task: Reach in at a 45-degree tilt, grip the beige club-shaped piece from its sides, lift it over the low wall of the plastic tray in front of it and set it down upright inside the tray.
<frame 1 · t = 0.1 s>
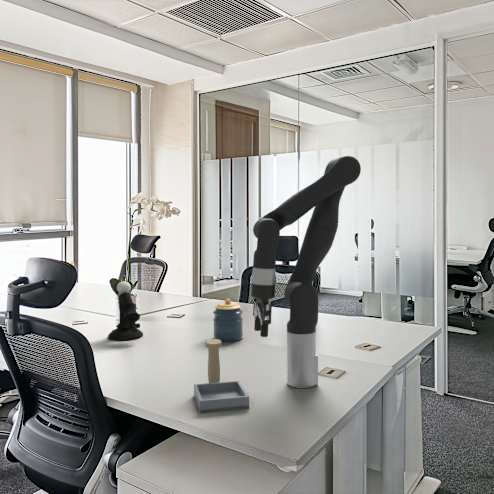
hand: (260, 333, 160), 17 cm above the table, tool pointing down, fingers open, 8 cm apart
sculpture: (128, 339, 225), on the table
canister: (228, 338, 224), on the table
tray: (220, 401, 149), on the table
beige club-shaped piece: (214, 388, 161), on the table
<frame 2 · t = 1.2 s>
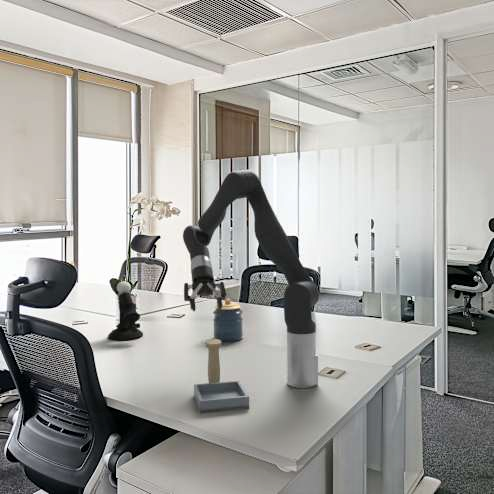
hand: (207, 309, 170), 23 cm above the table, tool tilted 45°, fingers open, 8 cm apart
nothing on the table moved.
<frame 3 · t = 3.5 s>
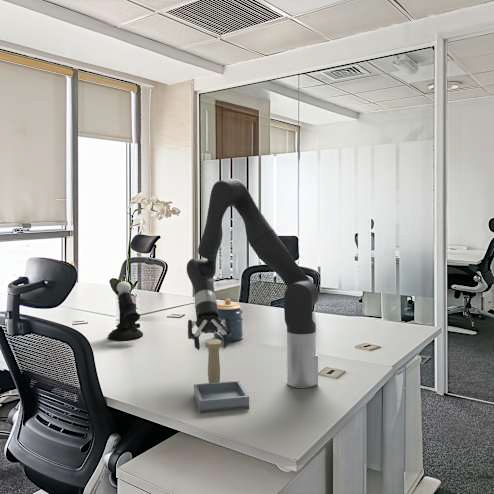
hand: (211, 347, 164), 12 cm above the table, tool tilted 45°, fingers open, 8 cm apart
nothing on the table moved.
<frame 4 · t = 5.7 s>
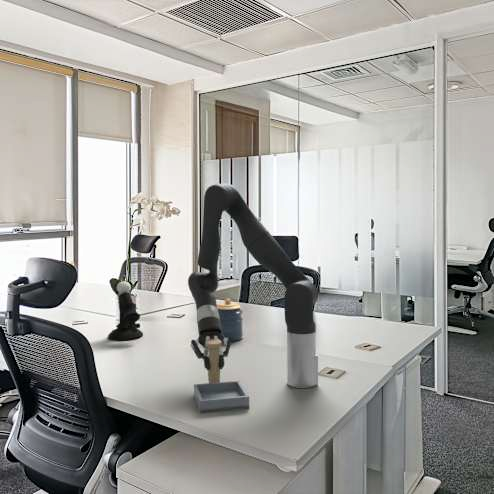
hand: (215, 368, 159), 7 cm above the table, tool tilted 45°, fingers closed on beige club-shaped piece, 3 cm apart
beige club-shaped piece: (214, 388, 161), on the table, touching gripper
everything else where it was.
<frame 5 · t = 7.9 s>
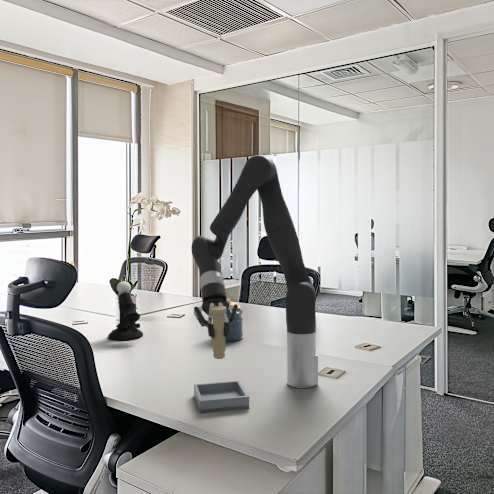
hand: (219, 336, 148), 20 cm above the table, tool tilted 45°, fingers closed on beige club-shaped piece, 3 cm apart
beige club-shaped piece: (219, 358, 150), point 12 cm above the table, touching gripper
everything else where it was.
when the fingers open (9 cm above the table, at t = 10.4 s): beige club-shaped piece drops 1 cm, resting on tray.
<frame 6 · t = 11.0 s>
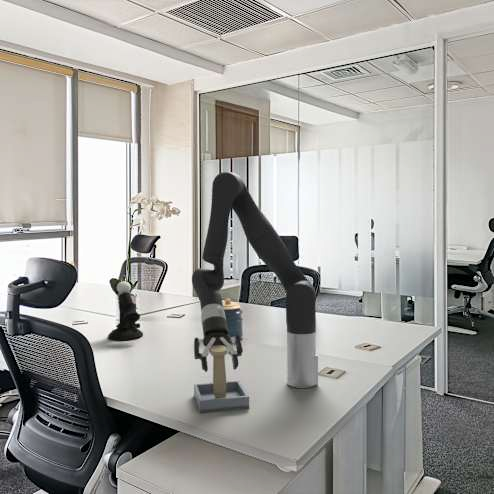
hand: (220, 369, 147), 10 cm above the table, tool tilted 45°, fingers open, 8 cm apart
beige club-shaped piece: (220, 398, 150), point 1 cm above the table, touching tray
everything else where it was.
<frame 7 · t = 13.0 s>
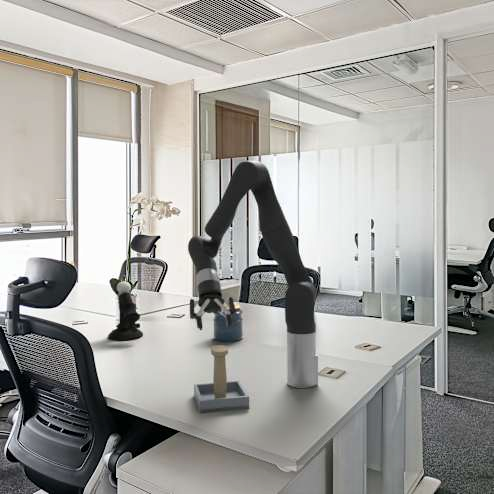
hand: (215, 327, 156), 20 cm above the table, tool tilted 45°, fingers open, 8 cm apart
nothing on the table moved.
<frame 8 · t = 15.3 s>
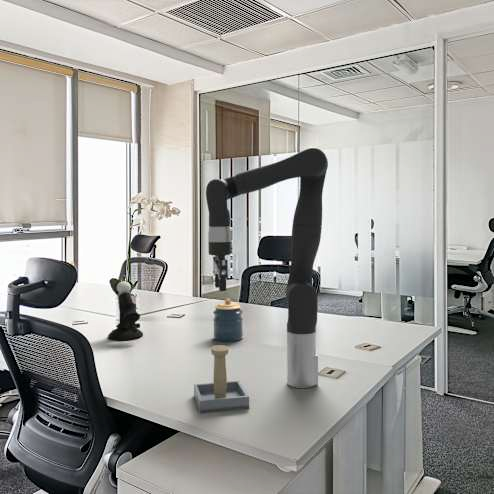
hand: (220, 289, 169), 30 cm above the table, tool pointing down, fingers open, 8 cm apart
nothing on the table moved.
at the end: beige club-shaped piece inside the target area on the tray (0.2 cm from its centre), point 0.8 cm above the tray's base; beige club-shaped piece tilted 0°; the gripper is holding nothing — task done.
